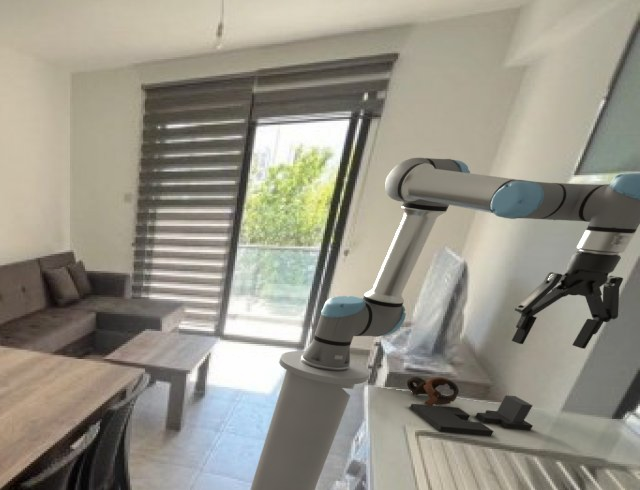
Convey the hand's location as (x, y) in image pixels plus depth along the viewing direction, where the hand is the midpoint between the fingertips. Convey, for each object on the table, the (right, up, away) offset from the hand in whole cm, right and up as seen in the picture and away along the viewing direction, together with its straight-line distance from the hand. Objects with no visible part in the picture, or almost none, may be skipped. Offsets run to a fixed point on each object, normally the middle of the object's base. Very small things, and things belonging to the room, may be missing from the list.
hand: (547, 344), depth 117 cm
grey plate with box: (-3, -19, +10) cm, 21 cm away
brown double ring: (-13, -12, +21) cm, 28 cm away
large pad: (-17, -19, +9) cm, 27 cm away
